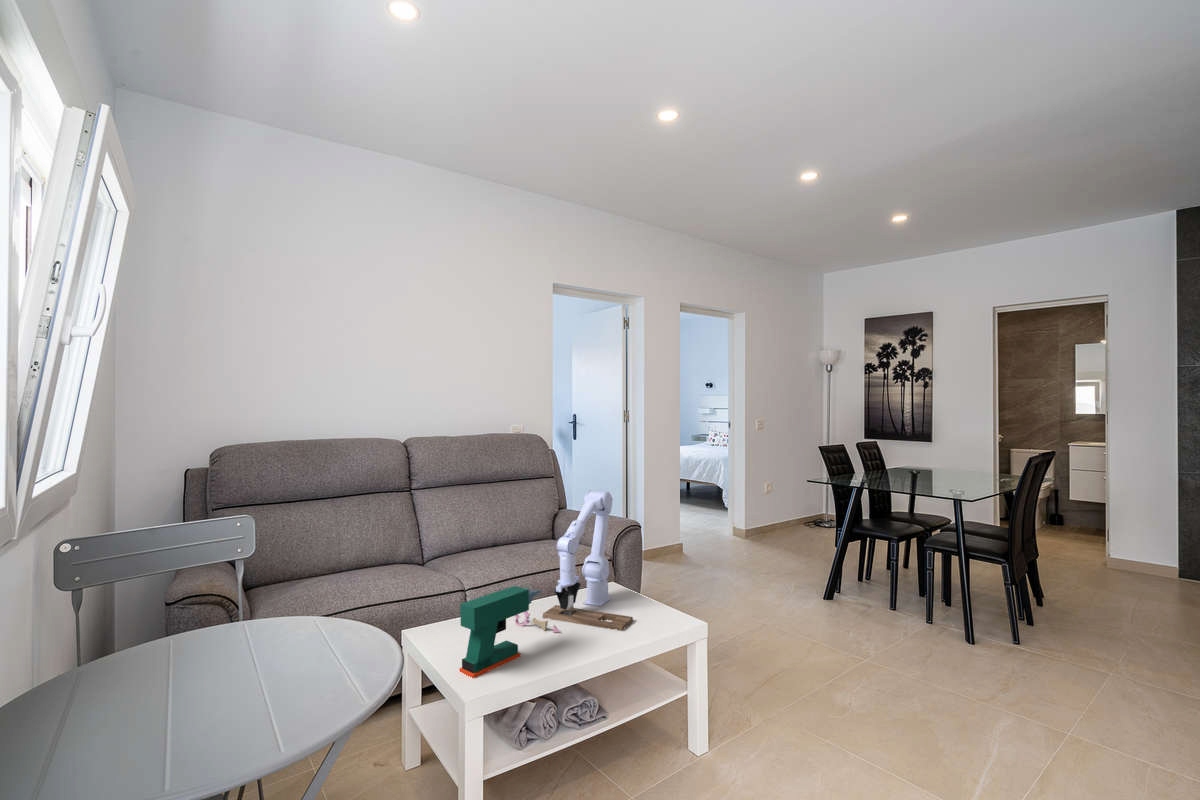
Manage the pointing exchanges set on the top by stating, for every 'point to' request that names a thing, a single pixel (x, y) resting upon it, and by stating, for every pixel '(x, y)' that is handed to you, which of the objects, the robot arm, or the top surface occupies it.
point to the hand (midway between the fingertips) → (568, 605)
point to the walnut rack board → (589, 618)
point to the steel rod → (569, 606)
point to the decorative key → (535, 622)
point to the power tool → (491, 628)
